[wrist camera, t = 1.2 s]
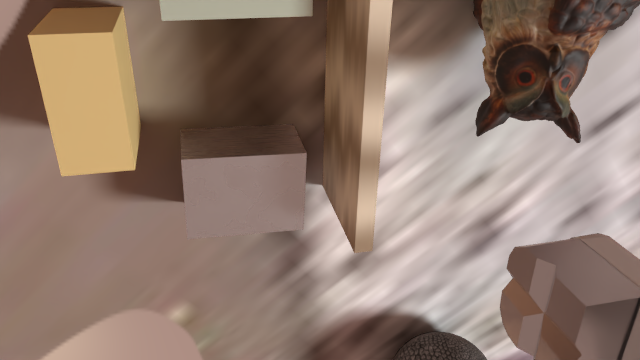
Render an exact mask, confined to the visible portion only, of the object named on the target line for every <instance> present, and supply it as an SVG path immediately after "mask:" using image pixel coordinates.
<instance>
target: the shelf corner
mask: <svg viewBox="0 0 640 360" xmlns="http://www.w3.org/2000/svg"><path fill="white" fill-rule="evenodd" d="M392 4H393V0H327V31H326V70H325V110H324V150H323V187H324V189H325V192H326V194H327V196H328V198H329V200H330V202H331V204H332V206H333V208H334V211H335V213H336V215H337V217H338V219H339V221H340V223H341V225H342V227H343V230H344V232H345V234H346V236H347V238H348V240H349V242H350V244H351V246H352V249H353V251H354V253H358V252H366V251H372V248H373V236H374V224H375V211H376V199H377V187H378V175H379V163H380V150H381V138H382V126H383V114H384V101H385V89H386V77H387V65H388V52H389V40H390V28H391V16H392Z"/></svg>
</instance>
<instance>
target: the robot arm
mask: <svg viewBox="0 0 640 360" xmlns="http://www.w3.org/2000/svg"><path fill="white" fill-rule="evenodd" d="M507 270H508V271H509V273H510V274H511V276H512V277H513V279H512V280H511V281H510V282H509V283H508V285H507V286H506V287H505V288H504V289H503V290H502V296H501V303H500V311H501V317H502V322H503V325H504V328H505V330H506V332H507V334H508V336H509V337H510V339H511V340H512V342H513V343H514V344H515V346H516V347H517V348H519V349H521V350H523V351H524V352H526V353H528V354H530V355H532V356H534V358H533V360H640V260H639V259H638V258H637V257H636V256H634V255H633V254H632V253H630V252H629V251H628V250H626V249H625V248H624V247H622V246H621V245H620V244H618V243H617V242H616V241H615V240H613V239H612V238H611V237H609V236H606V235H603V234H599V233H597V234H591V235H585V236H579V237H573V238H570V239H567V240H560V241H553V242H546V243H540V244H533V245H526V246H519V247H515V248H514V249H513V251H512V252H511V254H510V255H509V260H508V265H507Z"/></svg>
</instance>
